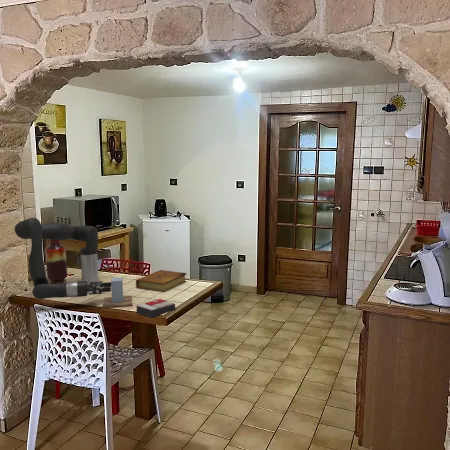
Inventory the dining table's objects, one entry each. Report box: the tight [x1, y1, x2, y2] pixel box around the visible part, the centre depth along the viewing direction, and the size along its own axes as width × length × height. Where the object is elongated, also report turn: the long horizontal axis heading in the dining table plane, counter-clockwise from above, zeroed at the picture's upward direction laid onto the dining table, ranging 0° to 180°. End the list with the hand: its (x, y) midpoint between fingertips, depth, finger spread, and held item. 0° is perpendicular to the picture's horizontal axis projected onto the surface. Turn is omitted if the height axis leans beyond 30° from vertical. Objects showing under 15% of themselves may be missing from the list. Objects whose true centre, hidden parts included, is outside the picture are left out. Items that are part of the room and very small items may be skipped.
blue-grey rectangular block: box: [110, 277, 124, 303], centre depth 230 cm, size 5×5×11 cm
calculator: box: [136, 298, 176, 319], centre depth 218 cm, size 11×4×15 cm
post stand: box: [102, 295, 133, 309], centre depth 231 cm, size 14×14×8 cm
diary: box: [135, 269, 188, 293], centre depth 262 cm, size 23×19×6 cm
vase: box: [44, 239, 68, 284], centre depth 269 cm, size 11×11×26 cm
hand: (111, 286), depth 229 cm, fingers open, 8 cm apart
